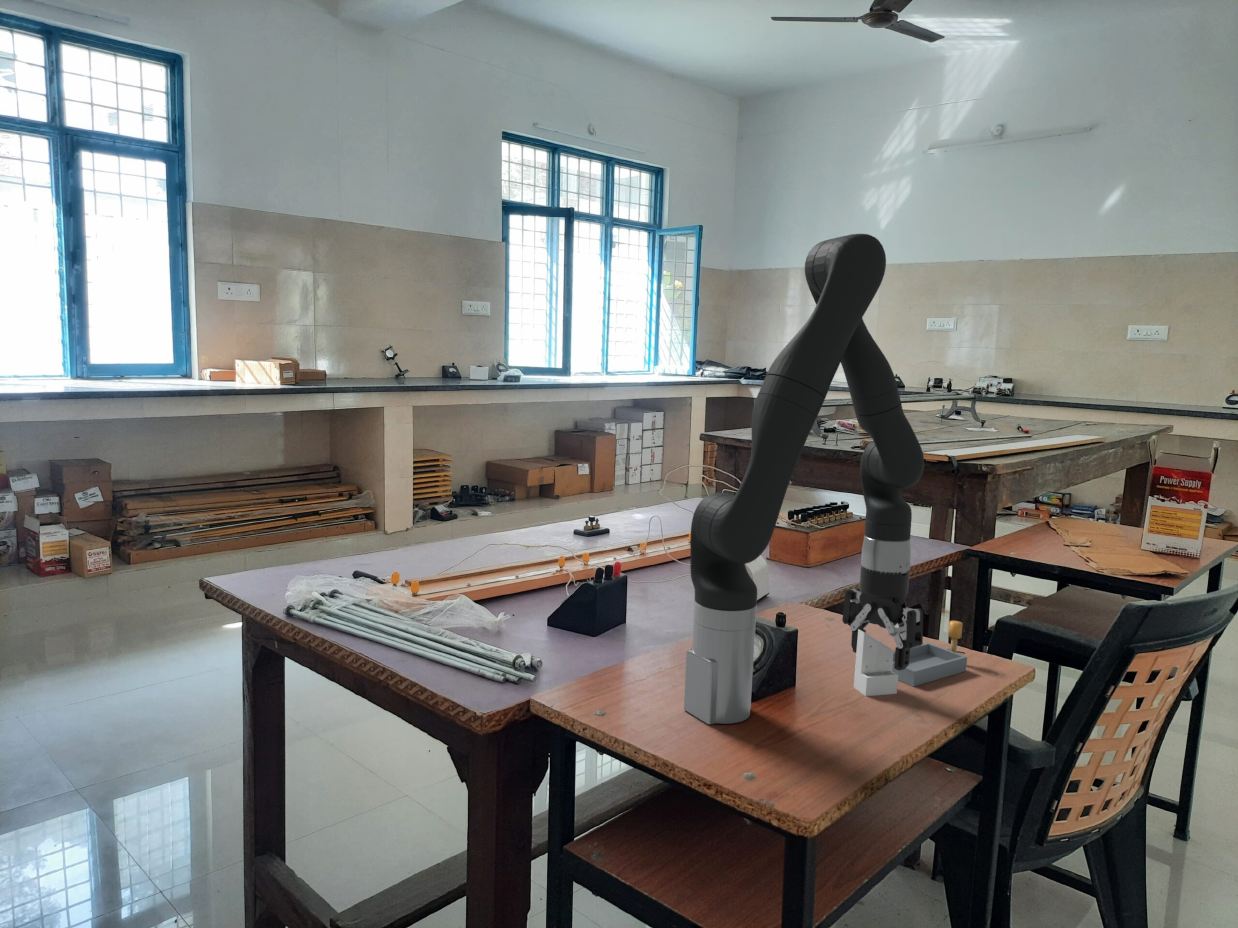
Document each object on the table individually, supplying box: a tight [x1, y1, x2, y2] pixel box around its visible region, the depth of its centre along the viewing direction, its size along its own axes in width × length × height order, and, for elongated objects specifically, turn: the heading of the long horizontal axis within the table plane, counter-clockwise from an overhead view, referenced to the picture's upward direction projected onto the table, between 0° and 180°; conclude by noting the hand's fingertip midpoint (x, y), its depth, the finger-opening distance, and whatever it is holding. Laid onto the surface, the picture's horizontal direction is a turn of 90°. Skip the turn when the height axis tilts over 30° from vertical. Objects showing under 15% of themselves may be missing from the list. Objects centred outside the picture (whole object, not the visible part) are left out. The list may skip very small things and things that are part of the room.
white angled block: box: [853, 629, 899, 697], centre depth 141 cm, size 4×10×9 cm, turn 105°
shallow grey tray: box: [892, 620, 968, 687], centre depth 151 cm, size 17×8×7 cm, turn 123°
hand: (879, 660), depth 141 cm, fingers open, 8 cm apart
